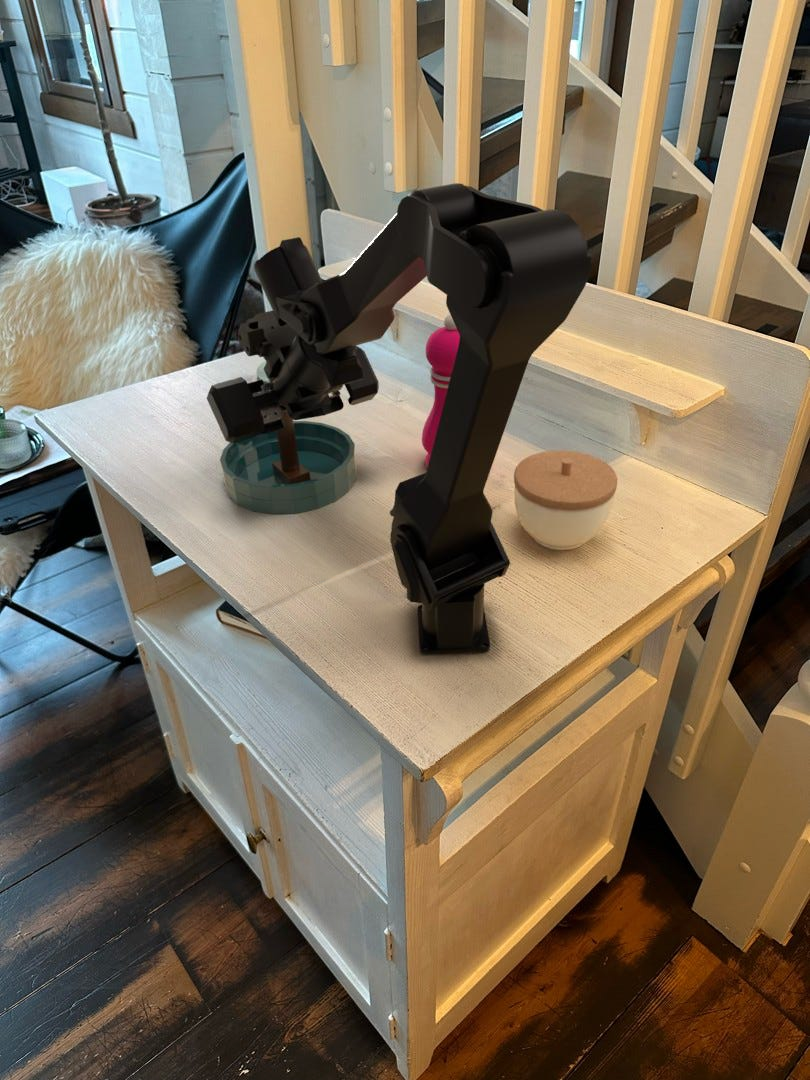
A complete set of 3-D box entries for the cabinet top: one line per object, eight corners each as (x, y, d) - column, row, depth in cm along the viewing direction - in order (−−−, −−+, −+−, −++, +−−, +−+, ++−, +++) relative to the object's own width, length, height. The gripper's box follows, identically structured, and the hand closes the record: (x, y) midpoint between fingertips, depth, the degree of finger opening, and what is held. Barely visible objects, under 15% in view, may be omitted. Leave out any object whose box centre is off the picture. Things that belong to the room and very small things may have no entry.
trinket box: (581, 576, 78) (591, 500, 73) (492, 541, 84) (495, 467, 78) (624, 527, 85) (636, 454, 80) (539, 497, 90) (545, 427, 85)
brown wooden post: (310, 481, 94) (297, 372, 85) (290, 488, 92) (274, 378, 84) (293, 465, 97) (278, 358, 88) (273, 472, 96) (256, 364, 87)
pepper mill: (475, 486, 93) (480, 327, 81) (417, 481, 94) (414, 324, 83) (482, 457, 99) (487, 305, 87) (427, 452, 100) (425, 302, 88)
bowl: (355, 517, 88) (352, 484, 86) (216, 522, 88) (209, 489, 86) (358, 449, 101) (356, 418, 99) (237, 453, 101) (232, 423, 99)
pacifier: (267, 398, 115) (301, 385, 118) (260, 359, 112) (295, 347, 114) (245, 382, 120) (277, 371, 123) (237, 345, 116) (271, 334, 119)
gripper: (359, 275, 82) (319, 342, 96) (195, 312, 73) (178, 381, 87) (402, 366, 81) (355, 421, 95) (242, 415, 73) (217, 467, 87)
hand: (279, 420), depth 91 cm, fingers open, 3 cm apart
